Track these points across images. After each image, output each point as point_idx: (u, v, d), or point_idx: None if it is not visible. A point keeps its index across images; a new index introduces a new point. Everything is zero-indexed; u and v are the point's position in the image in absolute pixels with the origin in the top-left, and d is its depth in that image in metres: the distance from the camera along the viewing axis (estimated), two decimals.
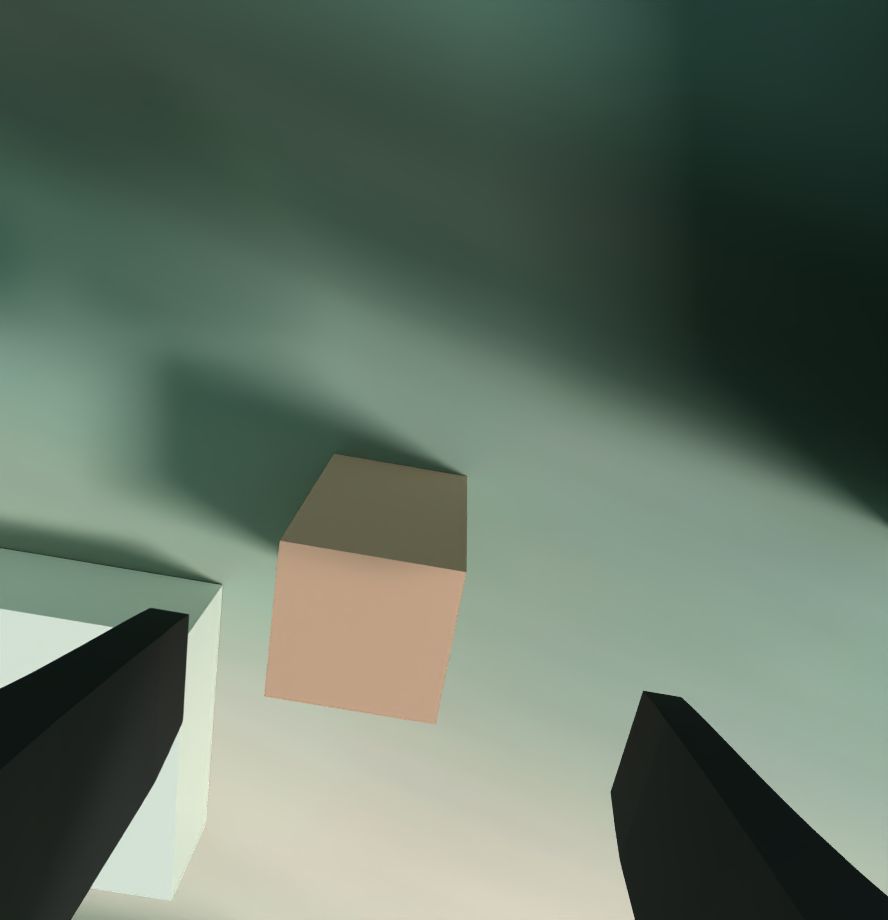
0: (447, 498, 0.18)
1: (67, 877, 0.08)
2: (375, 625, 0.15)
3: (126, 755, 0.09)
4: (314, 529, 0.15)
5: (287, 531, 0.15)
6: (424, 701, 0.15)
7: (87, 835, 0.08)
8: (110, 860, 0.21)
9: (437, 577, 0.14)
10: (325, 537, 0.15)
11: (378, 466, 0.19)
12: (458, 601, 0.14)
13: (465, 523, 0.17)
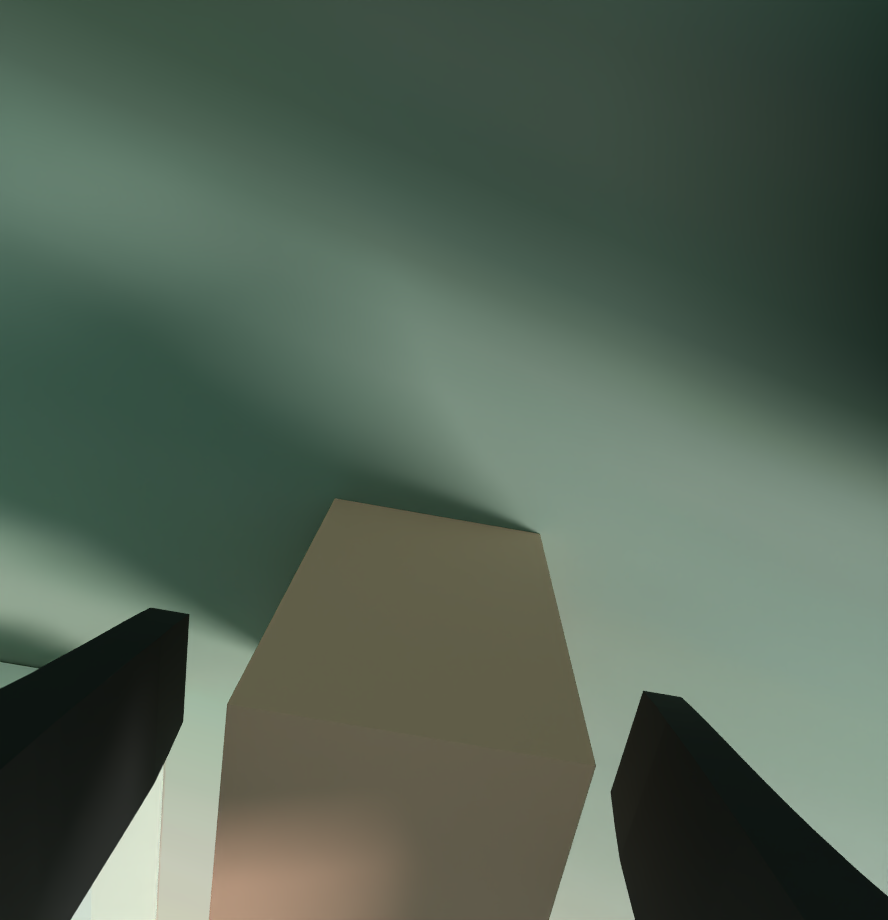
0: (520, 579, 0.11)
1: (67, 877, 0.08)
2: (413, 855, 0.08)
3: (126, 755, 0.09)
4: (297, 665, 0.08)
5: (246, 676, 0.08)
6: None
7: (87, 835, 0.08)
8: None
9: (538, 774, 0.07)
10: (318, 689, 0.08)
11: (404, 520, 0.12)
12: (575, 815, 0.07)
13: (561, 633, 0.10)
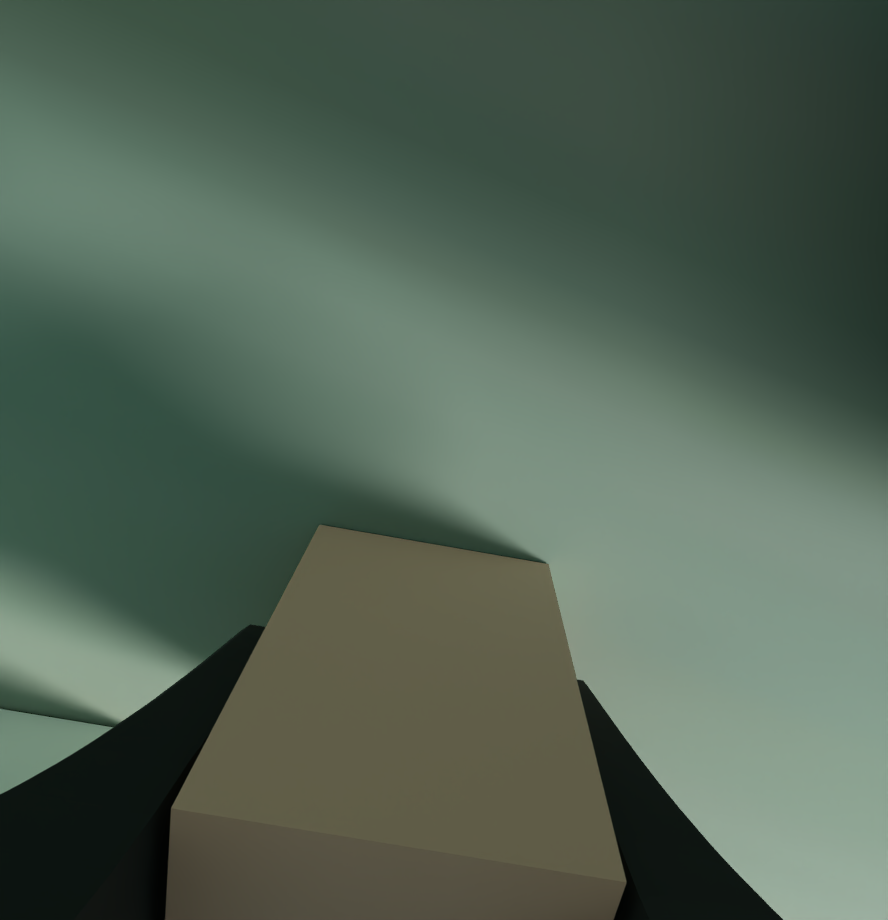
0: (529, 623, 0.10)
1: None
2: None
3: None
4: (262, 750, 0.07)
5: (198, 767, 0.06)
6: None
7: None
8: None
9: (556, 890, 0.06)
10: (287, 782, 0.06)
11: (396, 550, 0.11)
12: None
13: (578, 694, 0.08)
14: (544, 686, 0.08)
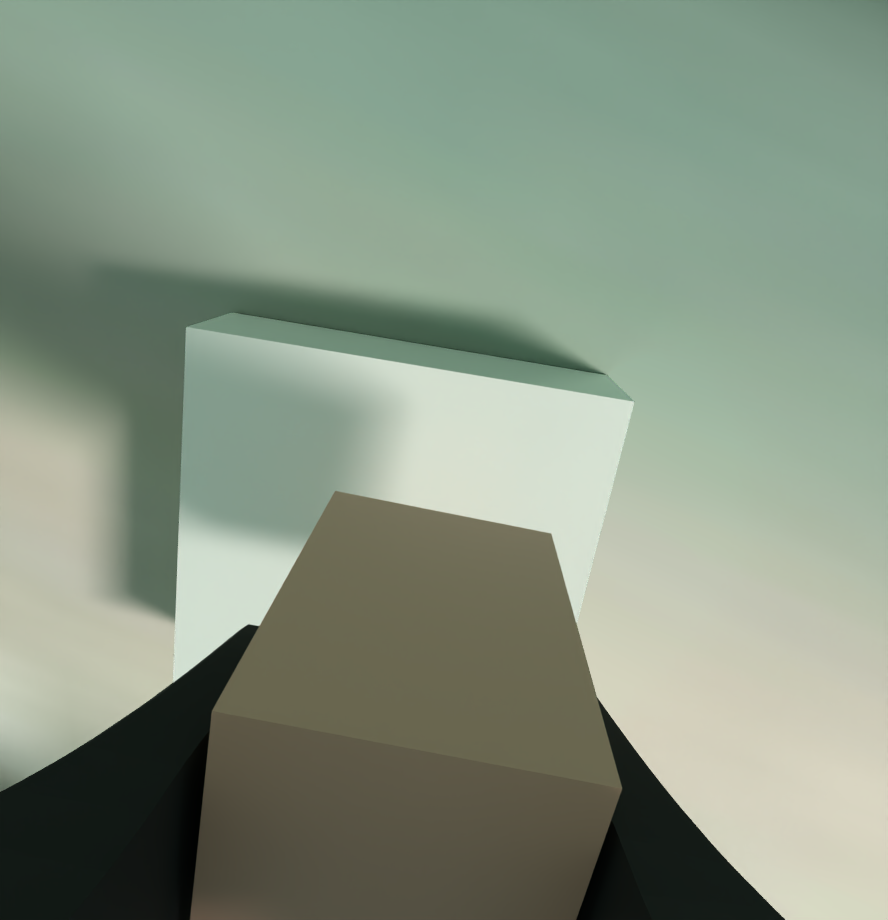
0: (533, 581, 0.10)
1: None
2: (415, 882, 0.07)
3: None
4: (291, 670, 0.07)
5: (234, 680, 0.07)
6: None
7: None
8: None
9: (558, 796, 0.06)
10: (314, 695, 0.07)
11: (408, 515, 0.12)
12: (597, 843, 0.07)
13: (578, 640, 0.09)
14: (547, 632, 0.09)
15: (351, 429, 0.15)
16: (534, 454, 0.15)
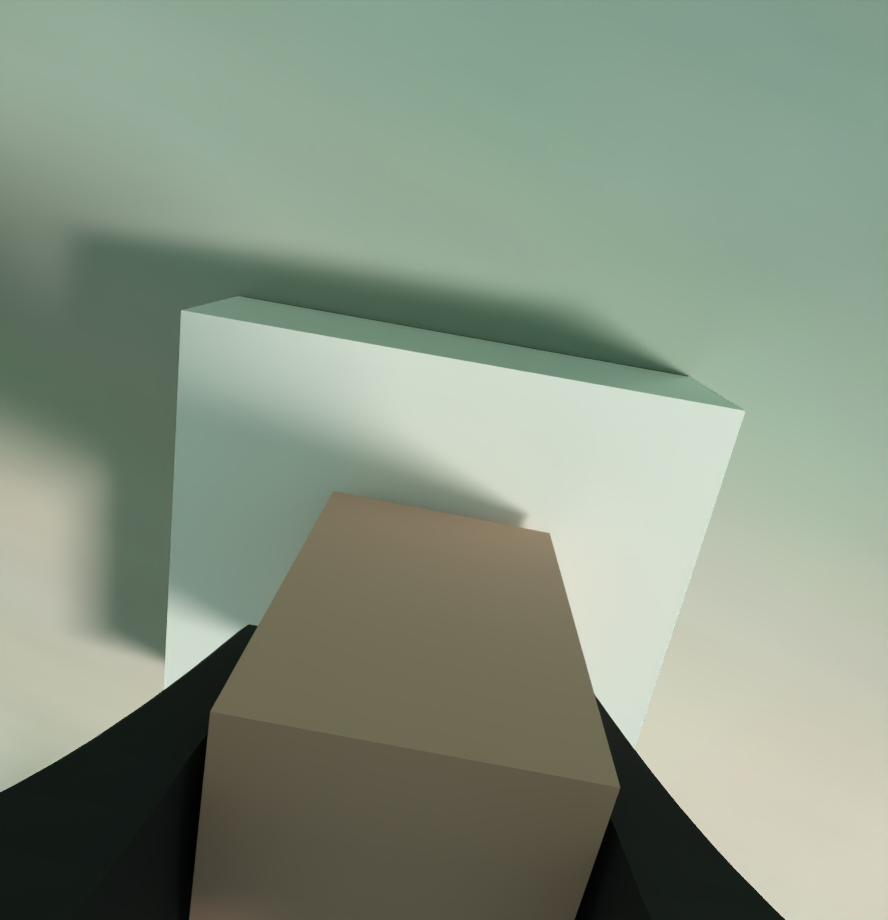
0: (531, 581, 0.10)
1: None
2: (414, 882, 0.07)
3: None
4: (289, 670, 0.07)
5: (233, 681, 0.07)
6: None
7: None
8: None
9: (555, 796, 0.06)
10: (313, 696, 0.07)
11: (406, 515, 0.12)
12: (595, 842, 0.07)
13: (577, 639, 0.09)
14: (546, 632, 0.09)
15: (387, 441, 0.12)
16: (615, 475, 0.12)
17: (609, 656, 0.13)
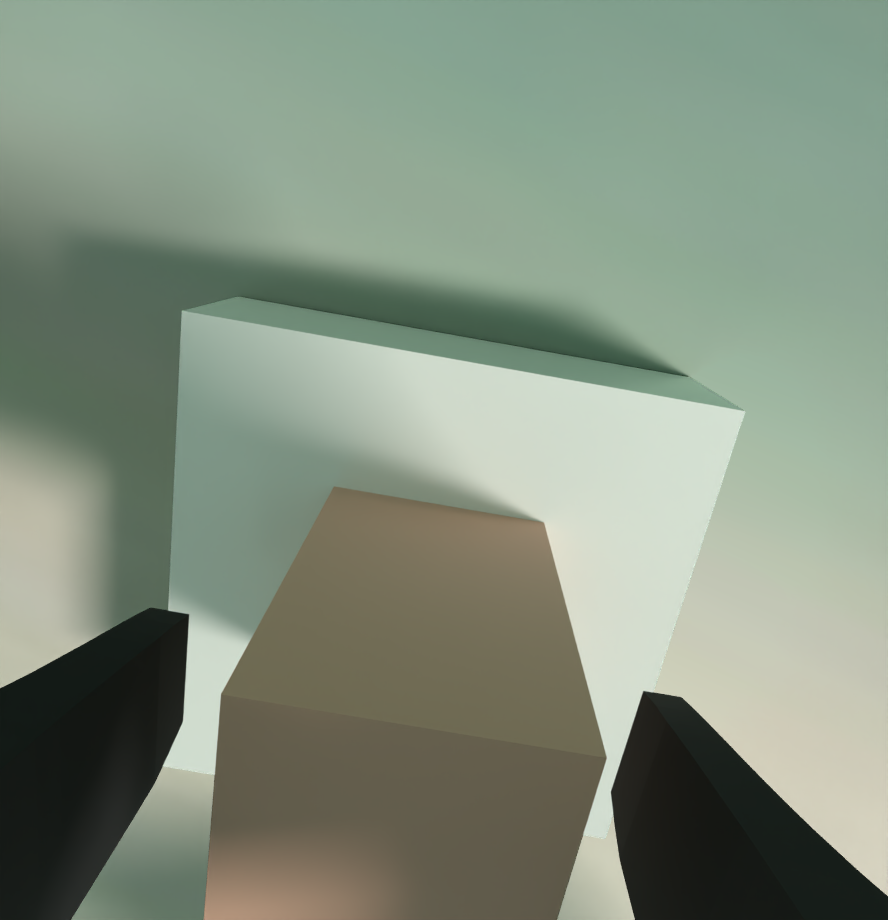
0: (525, 568, 0.11)
1: (67, 877, 0.08)
2: (416, 852, 0.07)
3: (126, 755, 0.09)
4: (294, 655, 0.08)
5: (240, 666, 0.07)
6: None
7: (87, 835, 0.08)
8: None
9: (548, 767, 0.07)
10: (317, 678, 0.07)
11: (405, 508, 0.12)
12: (585, 810, 0.07)
13: (568, 623, 0.09)
14: (539, 616, 0.09)
15: (388, 441, 0.12)
16: (614, 475, 0.12)
17: (609, 656, 0.13)
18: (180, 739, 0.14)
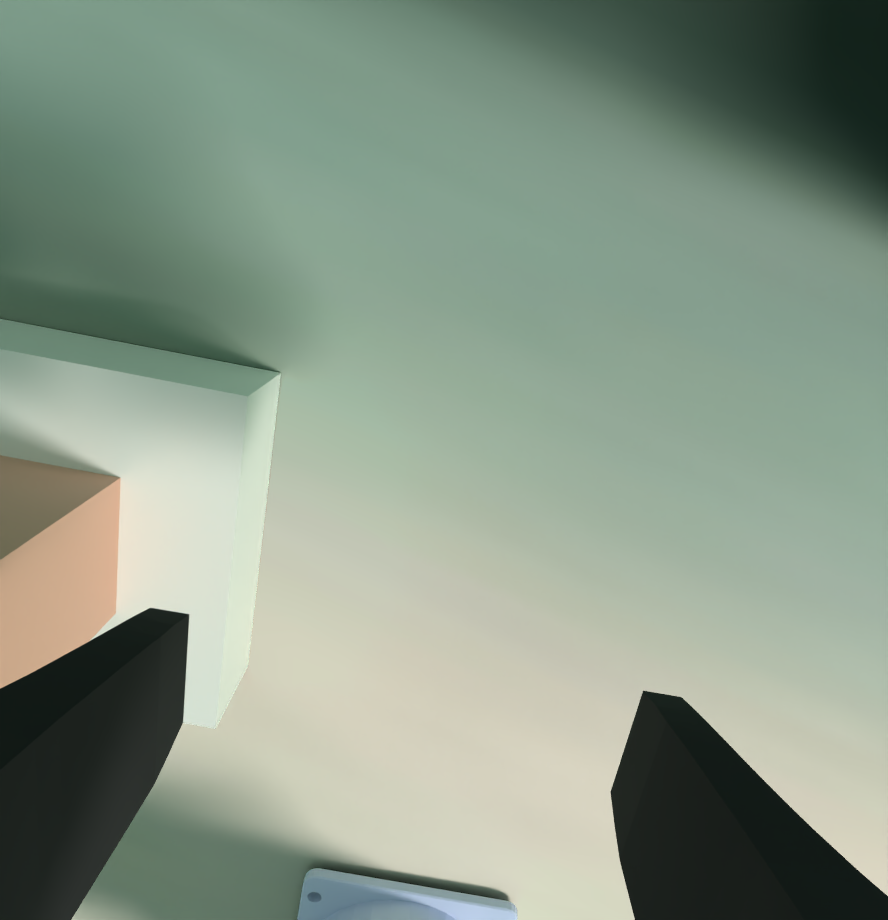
0: (52, 504, 0.15)
1: (67, 877, 0.08)
2: None
3: (126, 755, 0.09)
4: None
5: None
6: None
7: (87, 835, 0.08)
8: None
9: None
10: None
11: (5, 464, 0.16)
12: None
13: (34, 534, 0.14)
14: (15, 530, 0.14)
15: None
16: (164, 443, 0.17)
17: (189, 582, 0.18)
18: None
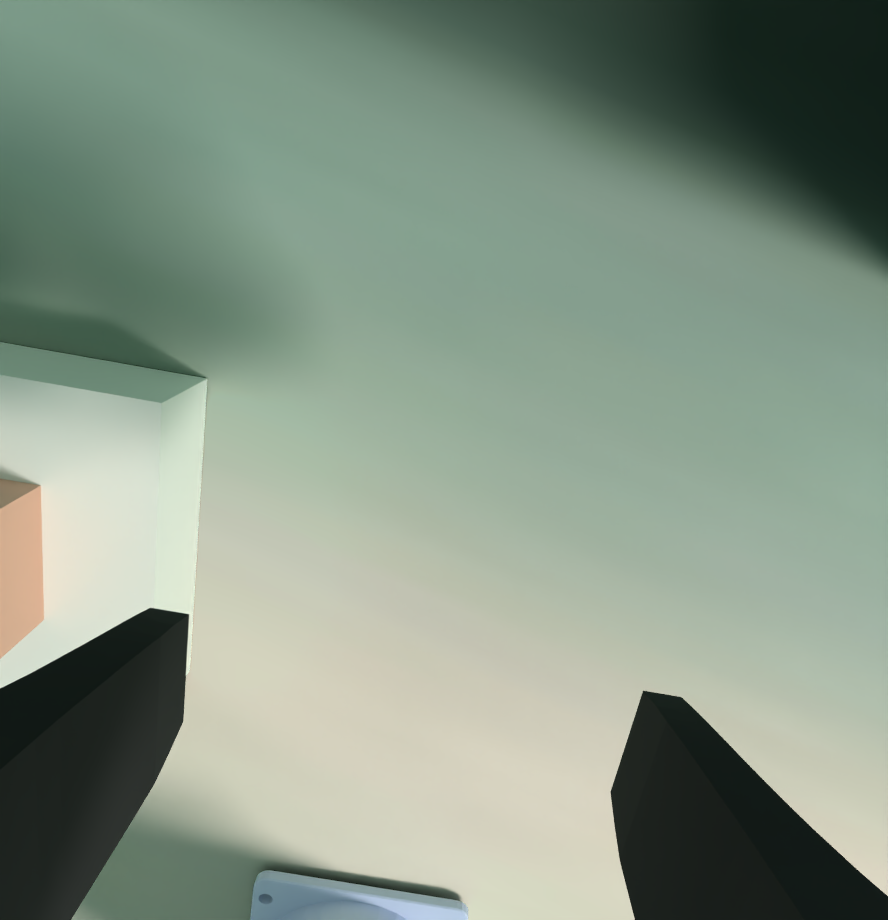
0: None
1: (67, 877, 0.08)
2: None
3: (126, 755, 0.09)
4: None
5: None
6: None
7: (87, 835, 0.08)
8: None
9: None
10: None
11: None
12: None
13: None
14: None
15: None
16: (82, 450, 0.17)
17: (114, 588, 0.18)
18: None
